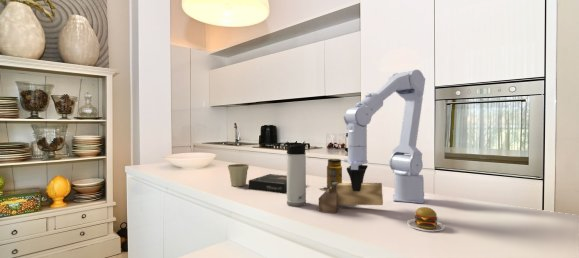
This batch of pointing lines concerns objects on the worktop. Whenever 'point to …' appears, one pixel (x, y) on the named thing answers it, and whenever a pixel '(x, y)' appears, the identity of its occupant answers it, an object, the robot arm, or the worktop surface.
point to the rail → (358, 194)
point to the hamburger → (426, 219)
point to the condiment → (333, 172)
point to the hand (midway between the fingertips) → (357, 189)
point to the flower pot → (238, 174)
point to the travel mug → (296, 175)
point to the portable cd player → (269, 183)
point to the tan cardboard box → (328, 201)
